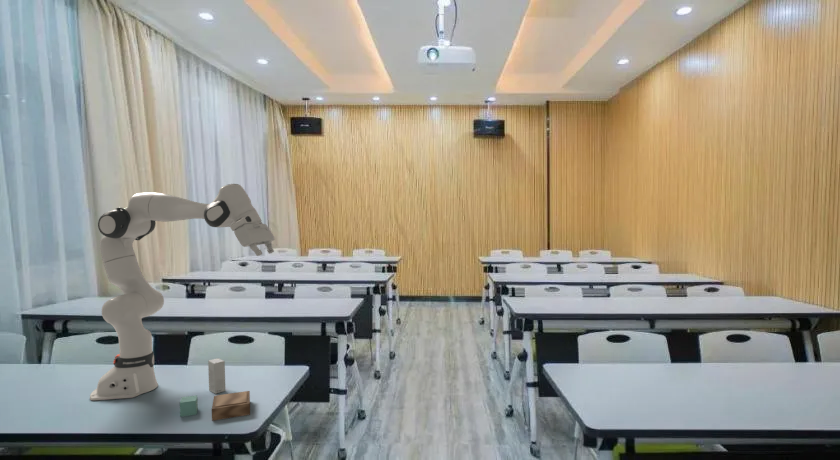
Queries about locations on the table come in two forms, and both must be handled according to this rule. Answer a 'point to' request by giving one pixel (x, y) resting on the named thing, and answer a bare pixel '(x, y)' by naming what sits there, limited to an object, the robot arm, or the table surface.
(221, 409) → the tray
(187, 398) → the teal cube
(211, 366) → the skincare box
